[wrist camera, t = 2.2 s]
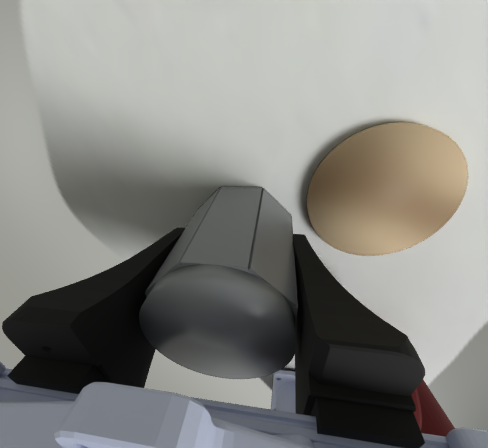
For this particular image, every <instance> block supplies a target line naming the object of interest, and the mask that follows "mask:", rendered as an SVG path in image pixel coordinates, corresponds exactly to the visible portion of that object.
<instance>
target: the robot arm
mask: <svg viewBox="0 0 488 448" xmlns="http://www.w3.org/2000/svg"><path fill="white" fill-rule="evenodd" d="M184 230H185V228H176V229H174V230H173V231H171V232H170V233H168V234H167V235H165V236H164V237H162V238H161V239H159V240H158V241H157V242H155V243H154V244H152V245H151V246H149V247H148V248H146V249H144V250H143V251H141V252H139V253H138V254H136V255H135V256H133V257H131V258H130V259H128V260H126V261H124V262H122V263H120V264H118V265H116V266H114V267H112V268H110V269H108V270H106V271H104V272H101V273H99V274H97V275H94V276H92V277H90V278H87V279H85V280H82V281H79V282H76V283H74V284H71V285H68V286H65V287H62V288H59V289H56V290H52V291H49V292H45V293H42V294H39V295H35V296H32V297H30V298H29V299H28V300H27V301H26V302H25V303H24V304H22V305H21V306H20V307H19V308H18V309H17V310H16V311H15V312H14V313H12V314H11V315H10V316H9V317H8V318H7V319H6V320H5V321H3V325H2V329H3V332H4V334H5V335H6V336H7V337H8V338H9V339H10V340H11V341H12V342H13V344H15V346H17V348H18V349H19V350H21V351H22V353H23V354H24V355H26V356H25V357H24V358H23V359H22V360H21V361H20V362H19V363H18V364H17V366H16V367H15V368H14V369H13V370H12V369H6V368H5V366H4V365H3V364H2V363H1V362H0V448H488V431H486V430H479V429H473V428H455V429H453V430H451V431H450V432H449V433H448V434H447V436H446V437H444V436H437V435H431V434H424V433H421V430H420V428H419V425H418V423H417V420H416V418H415V415H414V413H413V412H415V411H416V406H415V403H414V401H413V398H412V396H411V394H412V393H413V392H414V391H415V389H416V388H417V387H418V386H419V384H420V383H421V382H422V380H423V378H424V376H425V368H424V366H423V364H422V362H421V360H420V358H419V356H418V354H417V352H416V350H415V348H414V347H413V345H412V344H411V342H410V341H409V339H408V337H407V336H406V335H405V334H403V333H402V332H400V331H399V330H397V329H396V328H394V327H393V326H391V325H390V324H388V323H387V322H385V321H384V320H382V319H381V318H380V317H378V316H377V315H376V314H374V313H373V312H372V311H370V310H369V309H368V308H366V307H365V306H364V305H363V304H361V303H360V302H359V301H358V300H357V299H356V298H354V297H353V296H352V295H351V294H350V293H349V292H348V291H347V290H346V289H345V288H344V287H343V286H342V285H341V284H340V283H339V282H338V281H337V280H336V279H335V278H334V277H333V276H332V274H331V273H330V272H329V271H328V270H327V268H326V267H325V266H324V264H323V263H322V262H321V260H320V259H319V258H318V256H317V255H316V253H315V252H314V250H313V249H312V247H311V245H310V244H309V242H308V240H307V238H306V236H305V235H302V234H293V236H292V237H293V247H294V257H295V272H296V287H297V301H298V311H297V318H296V324H295V325H296V351H295V372H294V371H287V370H279V371H277V372H275V373H274V377H273V389H272V402H271V410H270V409H263V408H257V407H250V406H243V405H238V404H231V403H224V402H218V401H212V400H205V399H199V398H192V397H188V396H184V395H180V394H177V393H172V392H165V391H158V390H153V389H145V388H144V386H145V382H146V379H147V375H148V372H149V368H150V365H151V362H152V359H153V355H154V352H155V349H156V348H154V347H153V346H152V344H151V343H150V342H149V341H148V340H147V338H146V337H145V335H144V333H143V332H142V329H141V326H140V322H139V312H140V309H141V306H142V305H143V303H144V301H145V300H146V298H147V297H146V295H145V291H146V290H147V288H148V286H149V285H150V283H151V282H152V280H153V279H154V277H155V275H156V274H157V272H158V271H159V269H160V268H161V266H162V264H163V263H164V261H165V260H166V258H167V257H168V255H169V253H170V252H171V250H172V249H173V247H174V246H175V244H176V242H177V241H178V239H179V238H180V236H181V235H182V233H183V231H184Z"/></svg>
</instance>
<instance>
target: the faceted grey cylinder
mask: <svg viewBox="0 0 488 448" xmlns="http://www.w3.org/2000/svg"><path fill="white" fill-rule="evenodd" d="M292 236H293V228H292V216H291V214H290V213H289V212H288V211H287V210H286V209H285V208H284V207H283V206H282V205H281V204H280V203H279V202H278V201H277V200H276V199H275V198H273V197H272V196H271V195H270V194H269V193H268V192H267V191H266V190H265V189H262V187H231V186H222V187H220V188H219V189H218V190H217V191H216V192H215V193H214V194H213V195H212V196H211V197H210V198H209V199H208V200H207V201H206V202H205V203H204V204H203V205H202V206H201V207H200V208H199V209H198V210H197V211H196V213H195V214H194V216H193V217H192V219H191V220H190V222H189V224H188V225H187V227H186V228H185V230H184V231H183V233H182V235H181V236H180V238H179V239H178V241H177V242H176V244H175V246H174V247H173V249H172V250H171V252H170V253H169V255H168V257H167V258H166V260H165V261H164V263H163V264H162V266H161V268H160V269H159V271H158V272H157V274H156V275H155V277H154V279H153V280H152V282H151V283H150V285H149V286H148V288H147V290H146V291H145V295H146V297H147V298H146V300H145V301H144V303H143V305H142V306H141V309H140V312H139V322H140V326H141V329H142V332H143V333H144V335H145V337H146V338H147V340H148V341H149V342H150V343H151V344H152V346H153V347H154V348H156V349H157V350H158V351H159V352H160V353H162V354H163V355H164V356H166V357H167V358H169V359H170V360H172V361H173V362H175V363H177V364H179V365H181V366H184V367H186V368H188V369H191V370H193V371H196V372H199V373H202V374H206V375H210V376H215V377H221V378H229V379H250V378H258V377H263V376H266V375H270V374H272V373H275V372H277V371H279V370H281V369H282V368H284V367H285V366H286V365H287V364H288V363H289V362H290V361H291V360H292V358H293V356H294V354H295V351H296V325H295V324H296V318H297V311H298V301H297V287H296V272H295V257H294V247H293V237H292Z"/></svg>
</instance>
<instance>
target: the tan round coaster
mask: <svg viewBox="0 0 488 448" xmlns="http://www.w3.org/2000/svg"><path fill="white" fill-rule="evenodd" d="M467 183H468V166H467V162H466V158H465V156H464V154H463V152H462V150H461V149H460V147H459V146H458V145H457V144H456V142H455V141H453V140H452V139H451V138H450V137H449V136H447V135H446V134H444V133H442V132H440V131H438V130H436V129H433V128H430V127H428V126H425V125H421V124H416V123H409V122H394V123H386V124H381V125H376V126H373V127H370V128H367V129H364V130H362V131H360V132H358V133H355V134H354V135H352V136H350V137H349V138H347V139H345V140H344V141H342V142H341V143H340V144H338V145H337V146H336V147H335V148H334V149H333V150H332V151H330V152H329V153H328V154H327V156H326V157H325V158H324V159H323V160H322V161H321V163H320V164H319V166H318V167H317V169H316V170H315V172H314V174H313V176H312V179H311V182H310V184H309V188H308V193H307V208H308V214H309V218H310V221H311V224H312V226H313V228H314V229H315V231H316V233H317V234H318V235H319V236H320V237H321V238H322V239H323V240H324V241H325V242H326V243H327V244H329V245H331V246H332V247H334V248H336V249H338V250H340V251H343V252H346V253H350V254H355V255H363V256H375V255H384V254H390V253H394V252H398V251H401V250H404V249H407V248H410V247H412V246H414V245H416V244H418V243H420V242H422V241H424V240H425V239H427V238H428V237H430V236H431V235H433V234H434V233H435V232H437V231H438V230H439V229H440V228H441V227H443V226H444V225H445V224H446V223H447V221H448V220H449V219H450V218H451V217H452V216H453V214H454V213H455V212H456V210H457V209H458V207H459V205H460V204H461V202H462V199H463V197H464V195H465V191H466V188H467Z"/></svg>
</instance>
